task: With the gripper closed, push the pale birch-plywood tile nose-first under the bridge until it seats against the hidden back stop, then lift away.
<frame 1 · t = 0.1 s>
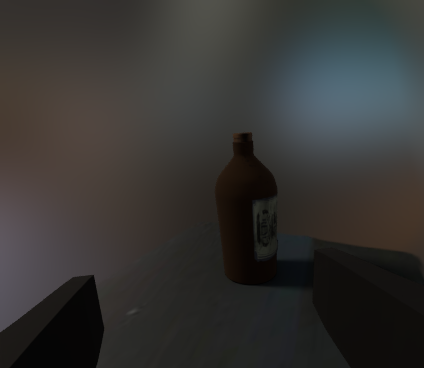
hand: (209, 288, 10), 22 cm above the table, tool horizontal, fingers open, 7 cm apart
olive oil: (250, 272, 54), on the table
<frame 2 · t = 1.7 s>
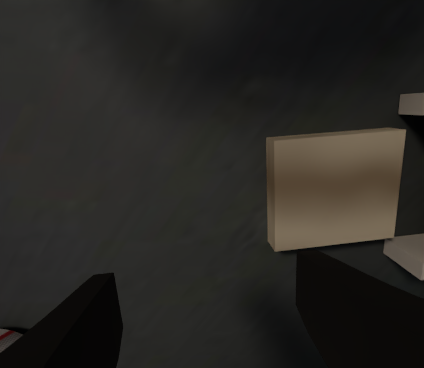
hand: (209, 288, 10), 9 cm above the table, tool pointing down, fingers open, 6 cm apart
soda can: (6, 358, 20), on the table
tile: (322, 184, 20), on the table
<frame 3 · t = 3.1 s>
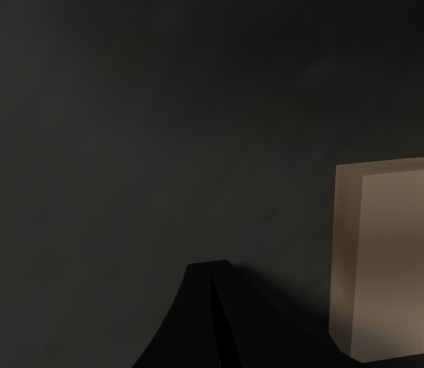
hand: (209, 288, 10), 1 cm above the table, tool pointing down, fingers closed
tile: (420, 238, 12), on the table
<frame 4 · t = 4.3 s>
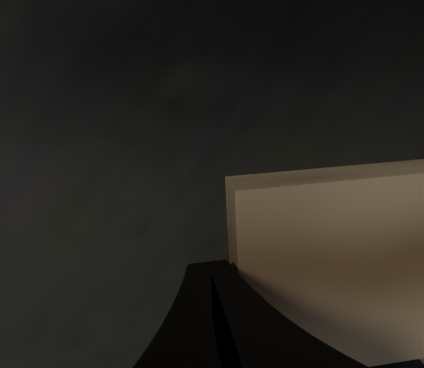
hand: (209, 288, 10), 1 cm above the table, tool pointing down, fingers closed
tile: (330, 252, 11), on the table, touching gripper
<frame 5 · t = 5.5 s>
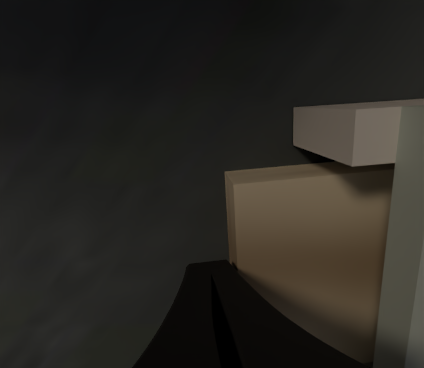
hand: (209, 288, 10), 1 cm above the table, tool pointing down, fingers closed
tile: (330, 248, 11), on the table
bridge: (361, 253, 11), on the table
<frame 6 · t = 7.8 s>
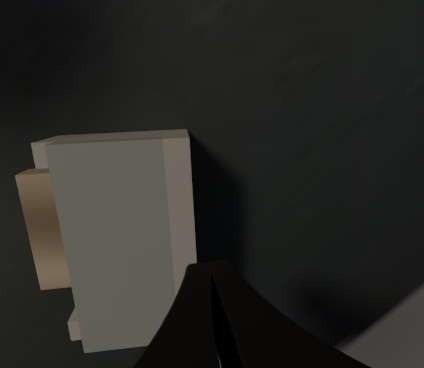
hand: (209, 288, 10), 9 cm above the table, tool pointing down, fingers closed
tile: (109, 217, 19), on the table
bridge: (120, 221, 18), on the table
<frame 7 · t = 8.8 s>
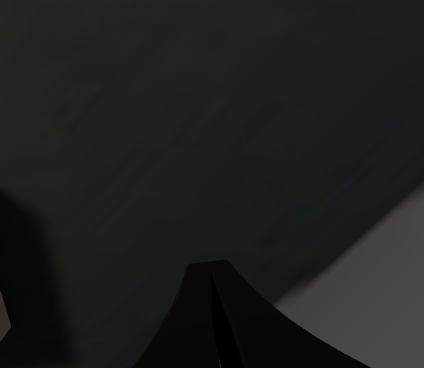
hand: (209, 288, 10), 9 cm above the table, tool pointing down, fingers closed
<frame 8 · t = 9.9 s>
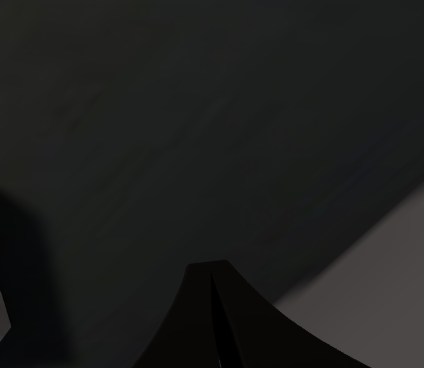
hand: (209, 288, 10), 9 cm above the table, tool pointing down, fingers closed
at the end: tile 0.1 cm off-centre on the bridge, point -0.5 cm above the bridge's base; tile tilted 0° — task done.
